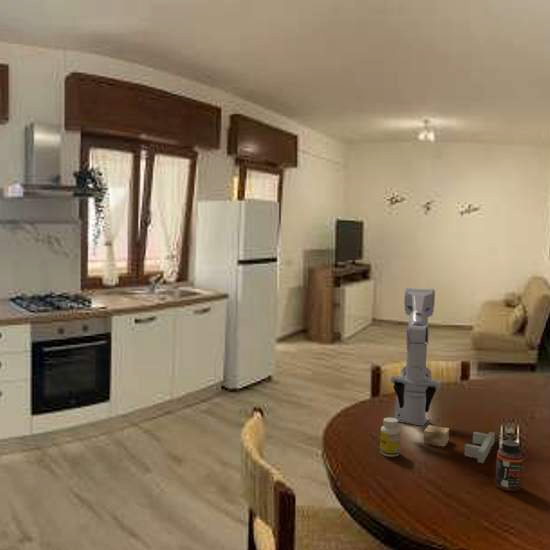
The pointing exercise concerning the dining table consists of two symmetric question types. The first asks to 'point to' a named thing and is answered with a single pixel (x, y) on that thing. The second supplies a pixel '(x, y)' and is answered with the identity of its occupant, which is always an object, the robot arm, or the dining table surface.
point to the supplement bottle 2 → (509, 466)
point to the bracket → (478, 451)
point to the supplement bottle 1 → (390, 438)
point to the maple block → (436, 435)
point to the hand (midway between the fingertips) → (414, 409)
